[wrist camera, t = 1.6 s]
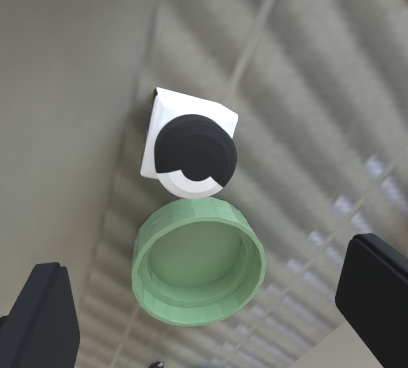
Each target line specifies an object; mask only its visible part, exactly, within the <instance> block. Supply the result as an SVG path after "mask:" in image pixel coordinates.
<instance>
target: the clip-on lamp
mask: <svg viewBox="0 0 408 368" xmlns="http://www.w3.org/2000/svg"><path fill="white" fill-rule="evenodd" d="M164 364H165V363H164V362H162V363H161V362H156V363H155V364H153V365H151V366H150V368H163V367H164Z"/></svg>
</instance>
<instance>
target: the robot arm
mask: <svg viewBox="0 0 408 368" xmlns="http://www.w3.org/2000/svg"><path fill="white" fill-rule="evenodd" d="M335 303H336V306H337V308H338V309H339V311H340V312H341V313H342V315H343V316H344V317H345V319H346V320H347V321H348V322H349V324H350V325H351V326H352V327H353V329H354V330H355V331H356V333H357V334H358V335H359V337H360V338H361V339H362V340H363V341H364V343H365V344H366V345H367V347H368V348H369V349H370V351H371V352H372V353H373V355H374V356H375V357H376V358H377V360H378V361H379V362H380V364H381V365H382V366H383V367H384V368H408V259H407V258H406V257H404V256H403V255H402V254H400V253H399V252H398V251H397V250H395V249H394V248H393V247H391V246H390V245H389V244H387V243H386V242H385V241H383V240H382V239H381V238H379V237H378V236H377V235H375V234H373V233H368V234H357V235H355V236H354V237H353V239H352V240H350V242H349V244H348V248H347V252H346V256H345V260H344V264H343V268H342V272H341V276H340V280H339V284H338V288H337V292H336V296H335ZM79 343H80V331H79V326H78V321H77V316H76V311H75V306H74V301H73V296H72V291H71V286H70V281H69V276H68V271H67V268H66V267H60V264H59V263H58V262H55V263H44V264H37V265H35V267H34V268H33V270H32V272H31V274H30V276H29V278H28V280H27V281H26V283H25V285H24V287H23V289H22V291H21V293H20V294H19V296H18V298H17V300H16V302H15V304H14V306H13V307H12V309H11V311H10V313H9V315H8V316H2V317H1V318H0V368H74V365H75V361H76V357H77V352H78V348H79Z"/></svg>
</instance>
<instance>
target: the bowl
mask: <svg viewBox="0 0 408 368" xmlns="http://www.w3.org/2000/svg"><path fill="white" fill-rule="evenodd" d="M266 265H267V263H266V258H265V252H264V248H263V246H262V244H261V242H260V241H259V239H258V238H257V236H256V234H255V233H254V231H253V229H252V228H251V226H250V225H249V223H248V222H247V220H246V219H245V217H244V216H243V214H242V212H240V211H239V210H238V209H236V208H235V207H233V206H232V205H231V204H229V203H228V202H226V201H222V200H219V199H216V198H212V197H206V198H201V199H186V198H183V199H180V200H176V201H173V202H170V203H168V204H166V205H165V206H163V207H161V208H160V209H158V210H157V211H155V212H154V213H152V214H151V215H150V217H149V218H148V219H147V220H146V222H145V223H144V224H143V225H142V226H141V228H140V229H139V232H138V234H137V237H136V240H135V242H134V246H133V258H132V271H131V275H132V290H133V293H134V295H135V297H136V299H137V301H138V303H139V305H140V306H141V307H142V308H143V309H144V310H145V311H146V312H147V313H148V314H150V315H151V316H152V317H153V318H156V319H158V320H160V321H162V322H164V323H167V324H170V325H177V326H183V327H193V326H204V325H209V324H212V323H215V322H218V321H221V320H224V319H226V318H228V317H230V316H231V315H233V314H235V313H236V312H238V311H240V310H241V309H242V308H243V307H244V306H245V305H246V304H247V303H248V302H249V301H250V300H251V299H252V298H253V297H254V296H255V295H256V293H257V291H258V290H259V288H260V286H261V284H262V282H263V280H264V275H265V270H266Z"/></svg>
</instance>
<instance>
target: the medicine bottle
mask: <svg viewBox="0 0 408 368" xmlns="http://www.w3.org/2000/svg"><path fill="white" fill-rule="evenodd" d="M237 120H238V116H237V114H235V113H234V112H232V111H230V110H229V109H227V108H225V107H224V106H222V105H221V104H219V103H215V102H212V101H208V100H204V99H200V98H196V97H192V96H189V95H185V94H181V93H177V92H173V91H169V90H165V89H162V88H155V89H154V92H153V97H152V102H151V108H150V113H149V118H148V123H147V128H146V133H145V138H144V143H143V149H142V158H141V175H142V176H144V177H148V178H154V179H159V180H160V182H161V183H162V185H163V186H164V187H165V188H166V189H167V190H168V191H170V192H171V193H173V194H175V195H176V196H179V197H182V198H186V199H201V198H206V197H209V196H211V195H213V194H215V193H217V192H218V191H220V190H221V189H222V188H224V186H225V185H226V184H227V183H228V182H229V181H230V179H231V177H232V175H233V173H234V171H235V167H236V162H237V153H236V148H235V145H234V142H233V140H232V137H233V133H234V130H235V127H236V123H237Z"/></svg>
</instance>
